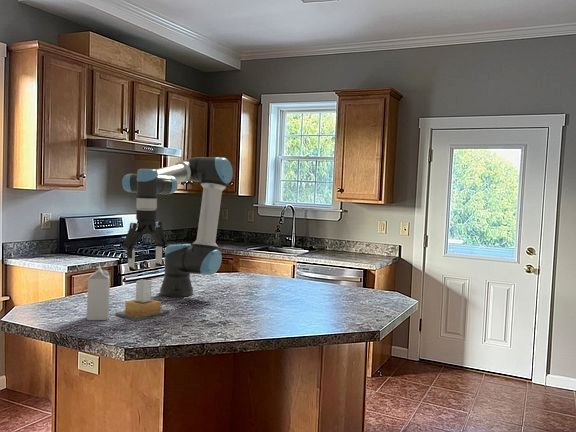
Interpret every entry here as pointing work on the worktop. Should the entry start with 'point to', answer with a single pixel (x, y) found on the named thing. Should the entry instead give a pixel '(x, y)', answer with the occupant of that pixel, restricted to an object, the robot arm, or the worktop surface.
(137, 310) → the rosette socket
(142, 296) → the white tall block
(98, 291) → the milk carton
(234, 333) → the worktop surface
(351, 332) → the worktop surface
